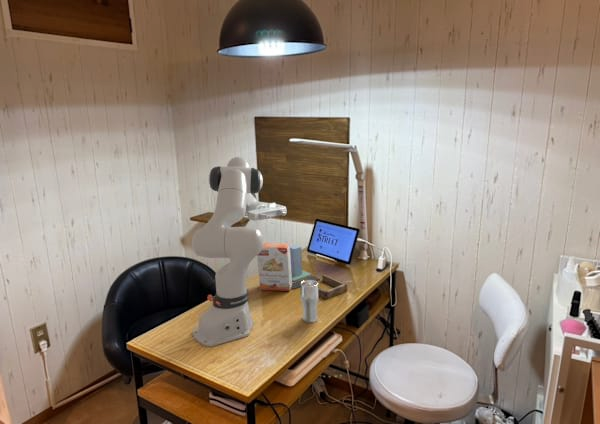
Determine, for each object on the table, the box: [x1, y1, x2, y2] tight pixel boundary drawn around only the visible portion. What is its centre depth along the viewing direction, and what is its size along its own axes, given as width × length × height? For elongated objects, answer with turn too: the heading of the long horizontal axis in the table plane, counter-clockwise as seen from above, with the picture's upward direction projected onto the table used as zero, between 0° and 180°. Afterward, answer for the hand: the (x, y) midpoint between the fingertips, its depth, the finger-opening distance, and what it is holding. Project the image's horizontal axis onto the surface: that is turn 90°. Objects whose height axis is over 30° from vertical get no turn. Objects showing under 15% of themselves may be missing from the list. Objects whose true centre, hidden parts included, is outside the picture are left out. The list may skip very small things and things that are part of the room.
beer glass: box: [299, 280, 320, 323], centre depth 158 cm, size 7×7×15 cm
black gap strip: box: [290, 275, 320, 290], centre depth 192 cm, size 16×5×1 cm, turn 129°
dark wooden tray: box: [318, 274, 348, 300], centre depth 185 cm, size 12×15×3 cm
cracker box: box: [256, 242, 293, 292], centre depth 184 cm, size 14×6×21 cm, turn 80°
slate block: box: [290, 244, 303, 277], centre depth 199 cm, size 5×5×14 cm
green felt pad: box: [292, 269, 313, 283], centre depth 201 cm, size 11×11×1 cm
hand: (276, 215), depth 197 cm, fingers open, 8 cm apart
